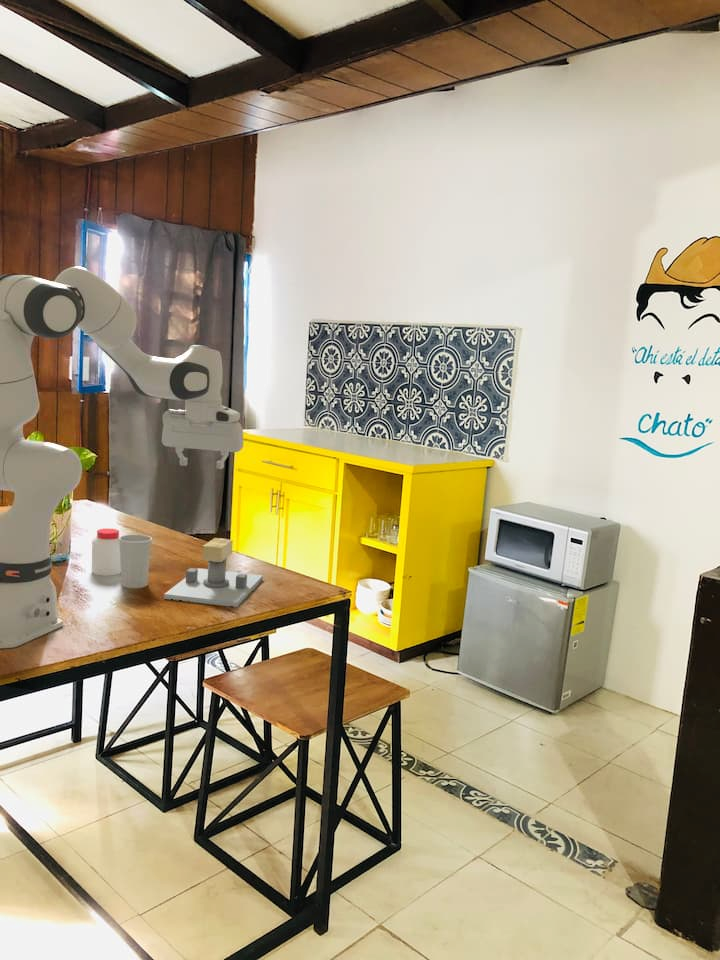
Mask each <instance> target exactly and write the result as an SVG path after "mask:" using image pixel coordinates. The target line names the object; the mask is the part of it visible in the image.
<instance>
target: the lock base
mask: <svg viewBox="0 0 720 960" xmlns="http://www.w3.org/2000/svg"><path fill="white" fill-rule="evenodd" d="M226 568H227V561H226V562H224V563H212V562H209V561H207V568H200V567H199V568H198V567H197V568H194V567H190V568H188V569H187V570H186V571H185V578H183V579H182V580H180V581H179V582H178V583H177V584H175V585H174V586H172V587H171V588H170V589H169V590H167V591H166V592H165V593H163V595H164V596H163V597H164V598H163V599H164V600H165V599H166V600H171V599H173V600H172V601H179V600H182V601H181V602H188V601H189V603H197V604H205V605H206V604H207V605H212V606H213V605H215V606H222V607H230V606H233V607H232V608H238V607H239V605H240V604H242V602H243V601H244V600H245V599H246V598H247V597H248V596H249V595H250V594H251V593H252V592H251V591H254V589H256V587H257V586H258V585H259V584H260V583H261V582H262V581H263V579H264V578H263V577H264V576H263V574H262V575H261V574H252V573H243V572H235V571H234V572H233V571H227V570H226ZM250 592H251V593H250ZM249 593H250V594H249ZM248 594H249V595H248Z"/></svg>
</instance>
